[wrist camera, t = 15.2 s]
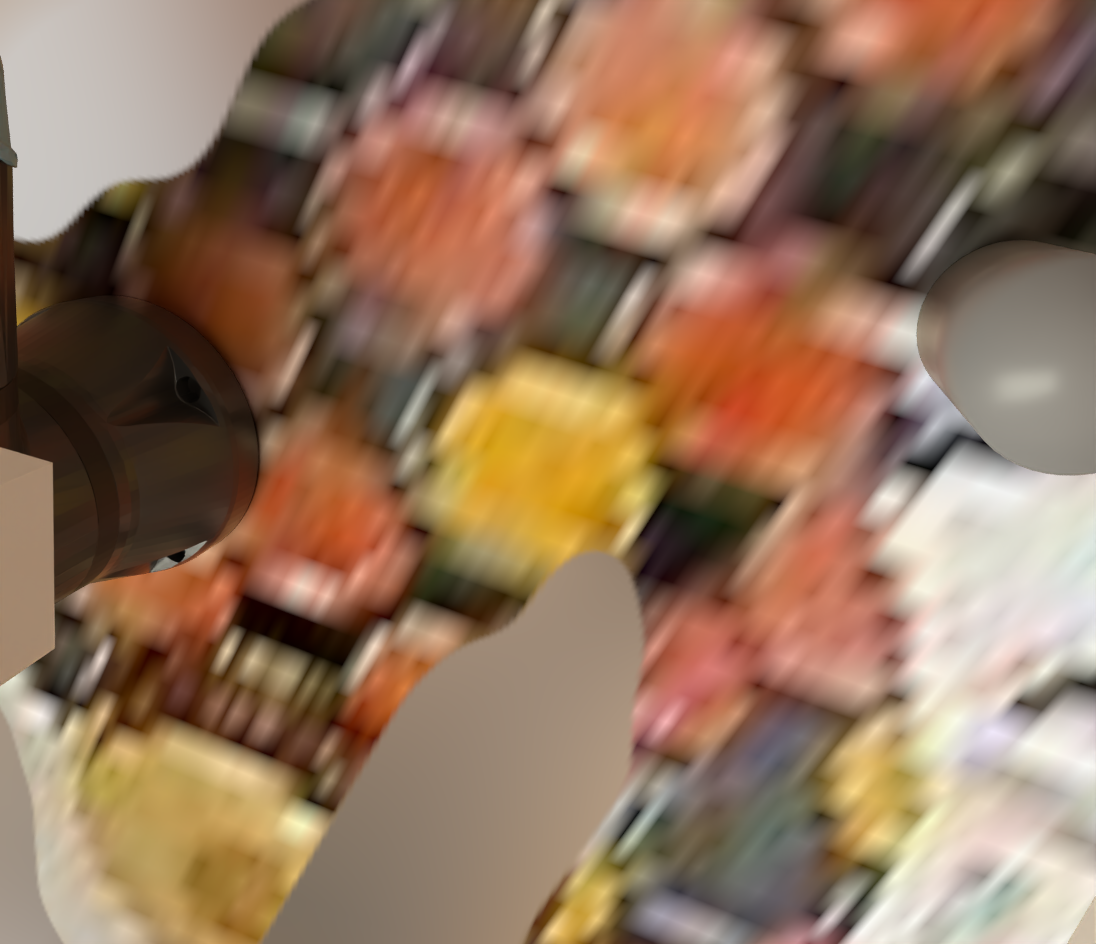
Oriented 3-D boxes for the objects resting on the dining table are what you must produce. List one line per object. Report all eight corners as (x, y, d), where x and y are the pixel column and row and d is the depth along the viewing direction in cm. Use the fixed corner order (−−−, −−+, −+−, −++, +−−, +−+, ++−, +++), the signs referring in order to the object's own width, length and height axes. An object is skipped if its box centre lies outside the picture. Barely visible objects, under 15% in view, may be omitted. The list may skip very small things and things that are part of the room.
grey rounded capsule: (890, 380, 37) (926, 438, 29) (957, 219, 34) (1018, 231, 26) (1054, 429, 36) (1140, 503, 28) (1136, 267, 33) (1257, 295, 25)
